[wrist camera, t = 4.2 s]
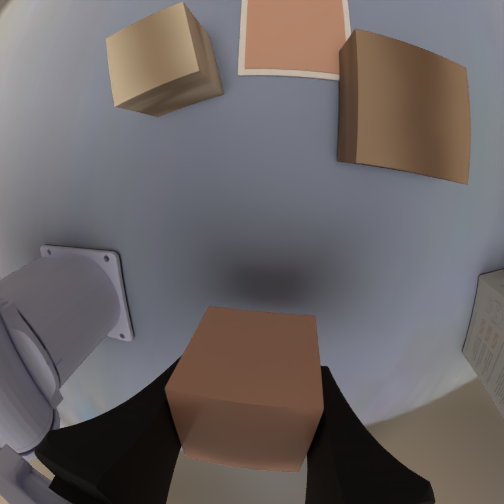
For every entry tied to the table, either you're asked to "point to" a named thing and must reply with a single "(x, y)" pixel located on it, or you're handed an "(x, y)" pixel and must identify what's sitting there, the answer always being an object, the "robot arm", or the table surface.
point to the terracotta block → (248, 389)
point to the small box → (488, 336)
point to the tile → (293, 38)
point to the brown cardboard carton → (403, 108)
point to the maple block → (162, 63)
